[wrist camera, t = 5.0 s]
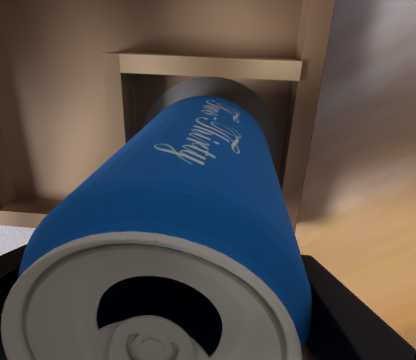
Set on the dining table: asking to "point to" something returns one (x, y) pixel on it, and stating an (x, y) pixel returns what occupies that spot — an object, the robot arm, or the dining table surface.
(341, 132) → the dining table surface
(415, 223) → the dining table surface
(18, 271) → the robot arm
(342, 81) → the dining table surface
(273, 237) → the beverage can
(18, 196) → the tray
